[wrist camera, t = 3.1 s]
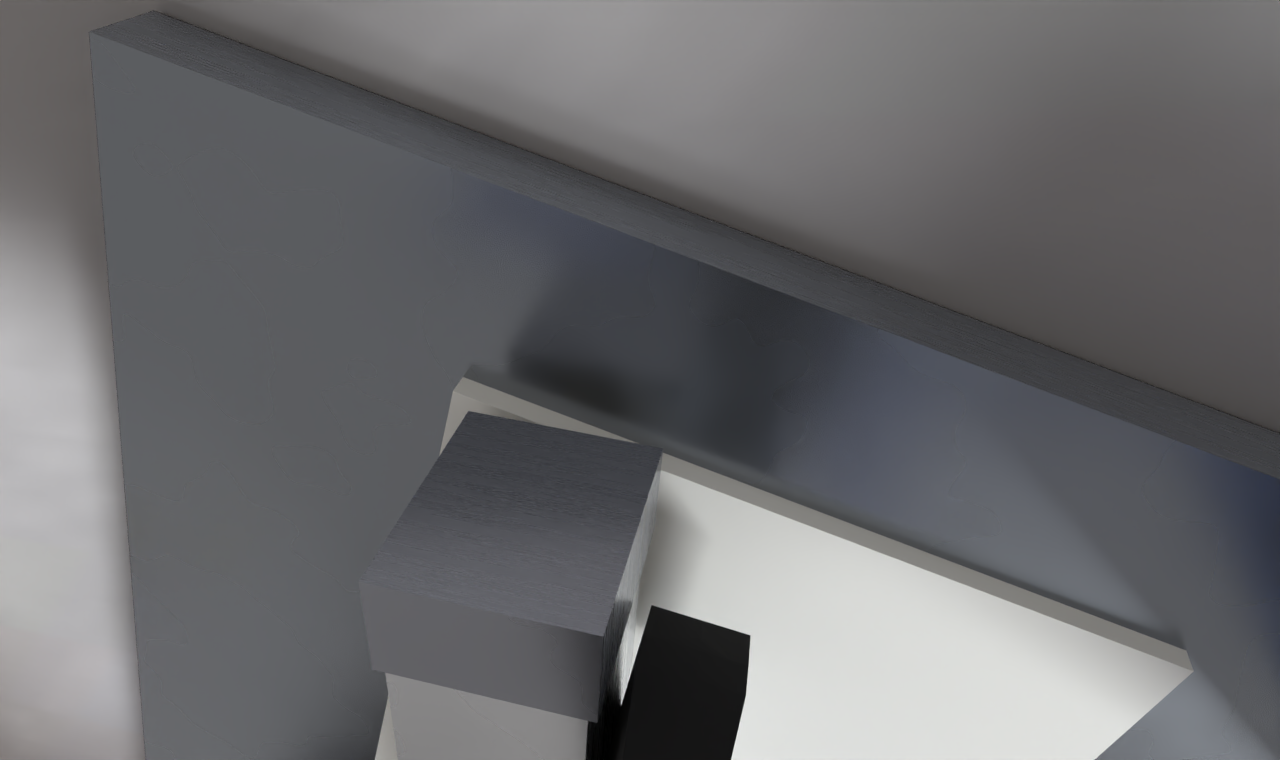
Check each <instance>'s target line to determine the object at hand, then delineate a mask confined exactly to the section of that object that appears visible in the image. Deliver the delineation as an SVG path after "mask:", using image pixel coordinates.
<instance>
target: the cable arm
mask: <svg viewBox="0 0 1280 760" xmlns="http://www.w3.org/2000/svg"><path fill="white" fill-rule="evenodd" d="M662 455H663V448H659V447H654V446H648V445H643V444H638V443H633V442H628V441H622V440H617V439H612V438H607V437H602V436H596V435H591V434H586V433H581V432H576V431H570V430H565V429H560V428H555V427H550V426H544V425H539V424H534V423H529V422H524V421H518V420H513V419H508V418H503V417H498V416H492V415H487V414H482V413H477V412H472V411H468V412H467V414H466V415H465V417H464V419H463V420H462V422H461V423H460V425H459V426H458V428H457V429H456V431H455V433H454V434H453V436H452V437H451V439H450V440H449V442H448V443H447V445H446V447H445V448H444V450H443V451H442V453H441V454H440V456H439V457H438V459H437V461H436V462H435V464H434V465H433V467H432V468H431V470H430V471H429V473H428V475H427V476H426V478H425V479H424V481H423V482H422V484H421V485H420V487H419V489H418V490H417V492H416V493H415V495H414V496H413V498H412V499H411V501H410V503H409V504H408V506H407V507H406V509H405V510H404V512H403V513H402V515H401V516H400V518H399V520H398V521H397V523H396V524H395V526H394V527H393V529H392V530H391V532H390V534H389V535H388V537H387V538H386V540H385V541H384V543H383V544H382V546H381V548H380V549H379V551H378V552H377V554H376V555H375V557H374V558H373V560H372V562H371V563H370V565H369V566H368V568H367V569H366V571H365V572H364V574H363V576H362V577H361V579H360V580H359V589H360V595H361V601H362V608H363V614H364V620H365V627H366V633H367V639H368V646H369V652H370V658H371V665H372V670H376V671H380V672H384V673H385V675H386V682H387V689H388V695H389V702H390V709H391V716H392V723H393V730H394V737H395V744H396V751H397V757H398V760H606V759H607V755H608V751H609V748H610V744H611V741H612V737H613V733H614V730H615V726H616V723H617V719H618V715H619V712H620V708H621V705H622V701H623V698H624V695H625V691H626V688H627V685H628V681H629V678H630V675H631V667H632V657H633V647H634V637H635V627H636V617H637V607H638V597H639V586H640V577H641V573H642V570H643V567H644V563H645V560H646V556H647V553H648V550H649V546H650V543H651V540H652V536H653V533H654V529H655V520H656V511H657V501H658V492H659V483H660V473H661V464H662Z"/></svg>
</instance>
